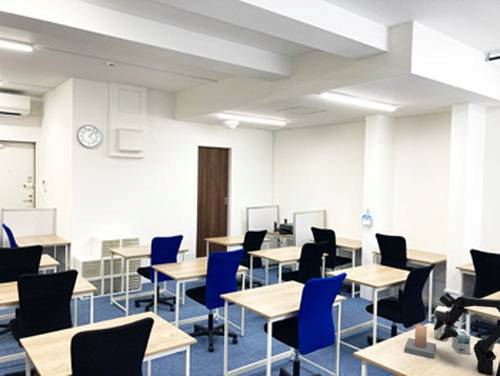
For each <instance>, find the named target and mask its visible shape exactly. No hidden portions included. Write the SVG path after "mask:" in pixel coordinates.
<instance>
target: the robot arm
mask: <svg viewBox="0 0 500 376" xmlns="http://www.w3.org/2000/svg"><path fill="white" fill-rule="evenodd" d="M438 299H439V302H440V303H441V304H443V306H444V307H446V308H449V311H446V312H445V313H444V312H441V311H435V310H434V313H435V314H433V317H434V316H435V318H436V319H437V321H436V324H435V327H434V326H433V331H434V330H437V329H439V328H440V327H441V326H443V325H444V324H445V325H446V327H445V329H444V332H443V334H442V335H441V337H440V338H439V341H442V340H444V339H446V340H448V339H449V338H450V339H451V338H452V337H455V338H456V337H457V336H458V332H457V331H456V329H454V328H455V324H456V323H459V322H460V318H461V317H462V316H463V315H464V314H465V315H470V312H469V308H471V307H482V308H492V309H493V308H494V309H496V310H497V311H498V312H499V313H500V299H496V298H495V299H493V298H478V297H474V296H472V295H471V296H470V295H466V294H465V295H461V296H457V297H456V298H455V297H453V296H452V295H451V294H450V293H449V292H448V291H447V292H445V293H444V294H443V295H442V296H440V297H439V298H438ZM499 341H500V324H499V325H498V326H497V327H496V329H495V330H494V331H492V332H491V334H489V335H488V336H487V338H485V337H484V338H481V339H478V340H477V342H475V344H473V348H472V349H473V352H474V354H475V358H476V360H477V361H476V362H477V364H476V365H477V366H476V369H477V371H478V372H477V373H480V374H484V375H489V376H492V375H493V376H494V361H496V359H497V355H496V354H495V353H494V352H493V351H494V347H495V346H496V344H497V343H498V342H499Z"/></svg>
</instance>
